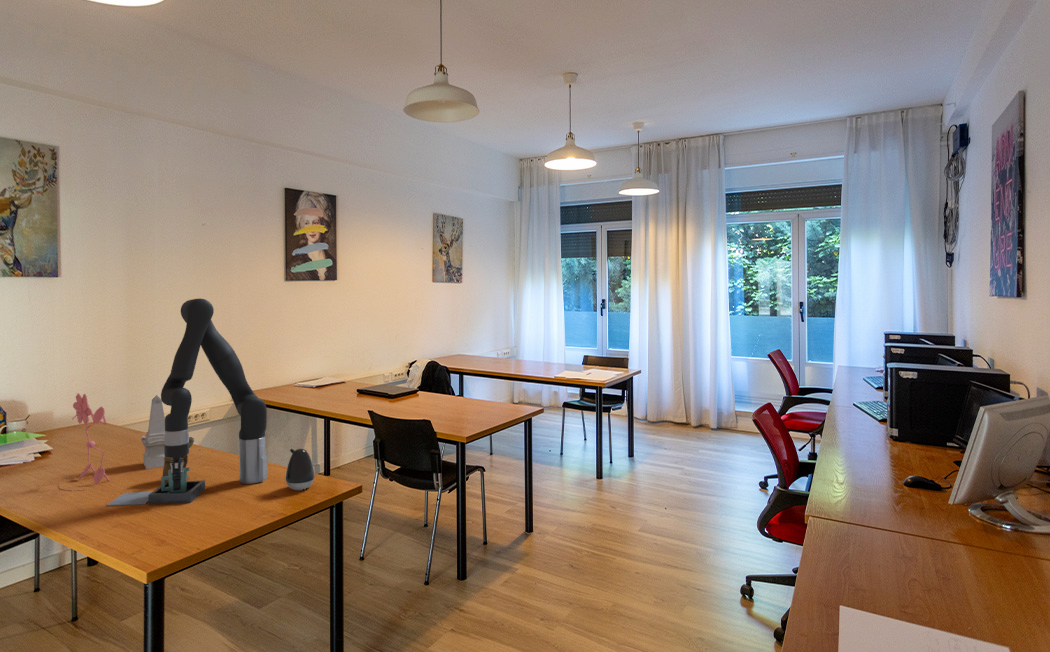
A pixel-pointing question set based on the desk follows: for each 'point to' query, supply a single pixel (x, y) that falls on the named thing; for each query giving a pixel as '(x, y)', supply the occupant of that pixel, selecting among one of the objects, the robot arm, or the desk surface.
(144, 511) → the desk surface
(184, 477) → the glazed jug
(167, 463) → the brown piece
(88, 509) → the desk surface
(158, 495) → the dark grey rectangular frame
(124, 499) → the slate grey mat
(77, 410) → the figurine
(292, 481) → the grey egg-shaped device
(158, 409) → the miniature monument
